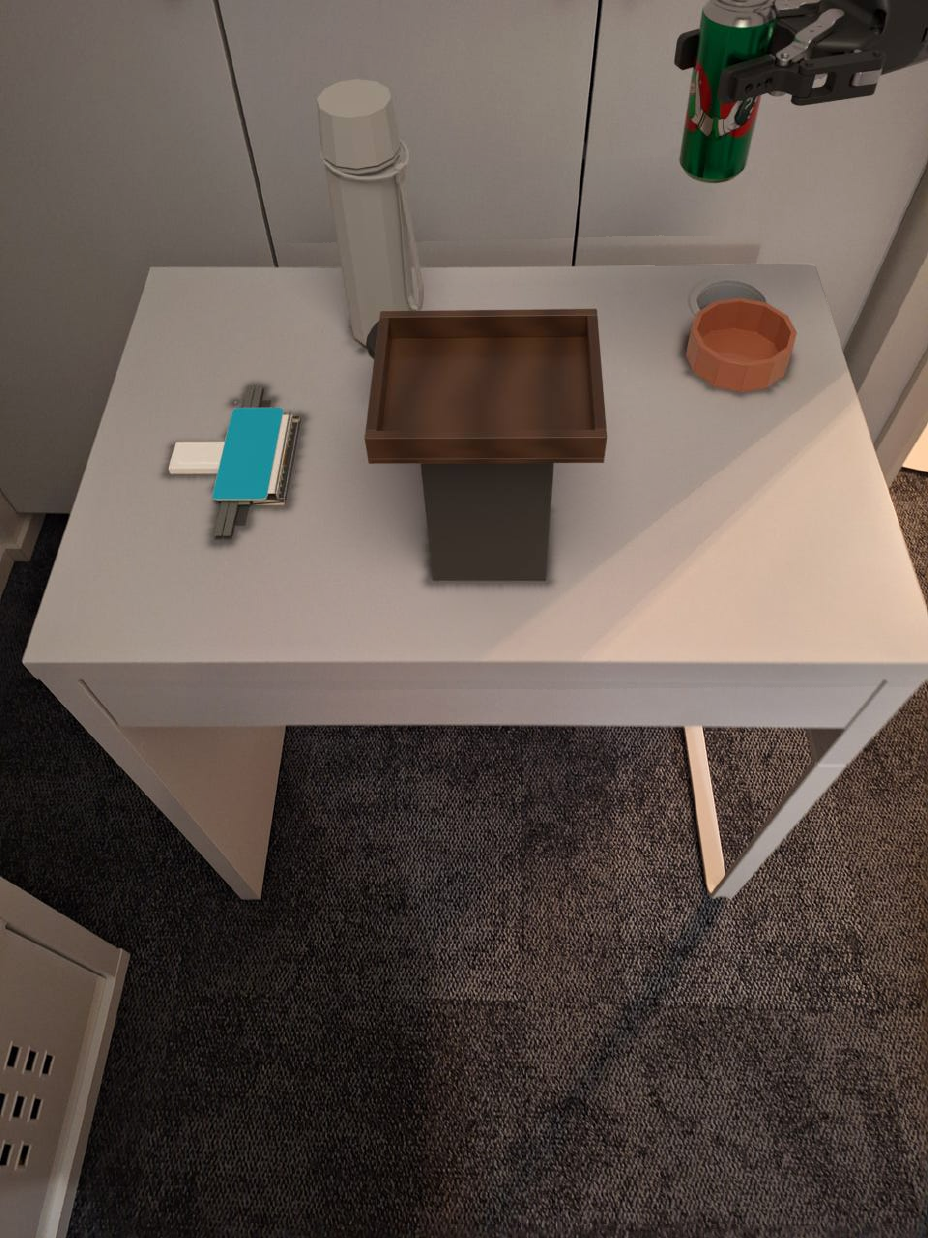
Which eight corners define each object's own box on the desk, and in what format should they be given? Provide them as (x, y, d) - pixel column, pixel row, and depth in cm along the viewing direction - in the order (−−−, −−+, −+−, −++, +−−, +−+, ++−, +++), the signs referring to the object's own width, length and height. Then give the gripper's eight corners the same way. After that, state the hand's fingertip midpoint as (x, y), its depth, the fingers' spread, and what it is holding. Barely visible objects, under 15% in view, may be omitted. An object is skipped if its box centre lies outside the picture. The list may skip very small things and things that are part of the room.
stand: (544, 511, 85) (552, 359, 70) (545, 581, 81) (555, 434, 66) (437, 512, 86) (423, 360, 71) (433, 581, 81) (417, 435, 66)
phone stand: (193, 390, 96) (189, 378, 95) (306, 389, 95) (303, 377, 94) (152, 540, 85) (146, 528, 84) (279, 540, 84) (275, 528, 83)
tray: (594, 334, 72) (597, 308, 70) (604, 463, 64) (607, 437, 62) (383, 336, 72) (379, 310, 70) (368, 463, 65) (364, 438, 63)
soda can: (752, 157, 71) (791, -18, 61) (734, 192, 69) (771, 15, 59) (689, 145, 72) (717, -29, 62) (669, 178, 70) (694, 4, 60)
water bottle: (336, 341, 100) (292, 107, 79) (377, 301, 103) (346, 67, 82) (406, 370, 97) (380, 134, 76) (446, 327, 100) (432, 91, 79)
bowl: (794, 336, 97) (803, 309, 94) (777, 400, 92) (786, 373, 89) (699, 317, 100) (705, 290, 97) (677, 378, 94) (682, 351, 92)
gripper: (850, -84, 67) (651, -31, 64) (991, -9, 60) (774, 55, 57) (822, 27, 74) (639, 81, 70) (946, 107, 66) (748, 172, 63)
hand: (700, 69), depth 63 cm, fingers closed on soda can, 5 cm apart
